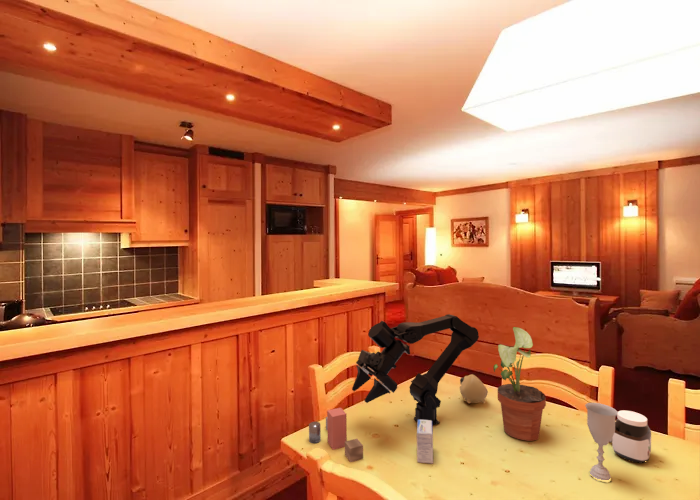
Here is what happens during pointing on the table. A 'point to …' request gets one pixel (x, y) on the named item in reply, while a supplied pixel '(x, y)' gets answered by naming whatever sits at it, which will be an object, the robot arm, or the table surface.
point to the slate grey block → (326, 424)
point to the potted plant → (519, 393)
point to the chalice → (601, 433)
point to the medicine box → (424, 441)
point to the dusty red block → (337, 428)
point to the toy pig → (473, 389)
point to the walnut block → (353, 450)
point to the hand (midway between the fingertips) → (358, 396)
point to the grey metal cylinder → (314, 432)
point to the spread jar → (632, 436)
